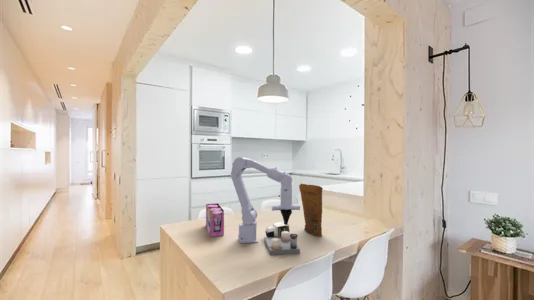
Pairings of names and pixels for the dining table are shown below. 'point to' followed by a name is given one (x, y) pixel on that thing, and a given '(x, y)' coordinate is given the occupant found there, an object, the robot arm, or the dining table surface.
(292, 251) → the mount board
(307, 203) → the pancake mix bag
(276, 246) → the knob
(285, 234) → the knob
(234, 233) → the dining table surface
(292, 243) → the pot post
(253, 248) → the dining table surface
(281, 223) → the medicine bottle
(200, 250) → the dining table surface
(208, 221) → the gum box
